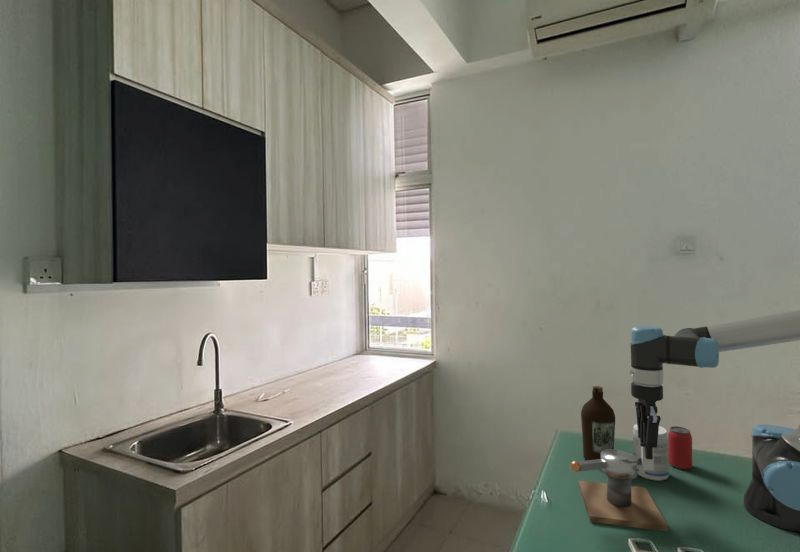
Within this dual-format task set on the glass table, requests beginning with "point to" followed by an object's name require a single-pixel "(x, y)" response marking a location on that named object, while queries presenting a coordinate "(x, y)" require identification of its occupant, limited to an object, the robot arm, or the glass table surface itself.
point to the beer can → (680, 447)
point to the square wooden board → (621, 504)
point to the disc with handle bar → (613, 464)
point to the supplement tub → (662, 449)
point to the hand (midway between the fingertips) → (647, 468)
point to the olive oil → (597, 425)
